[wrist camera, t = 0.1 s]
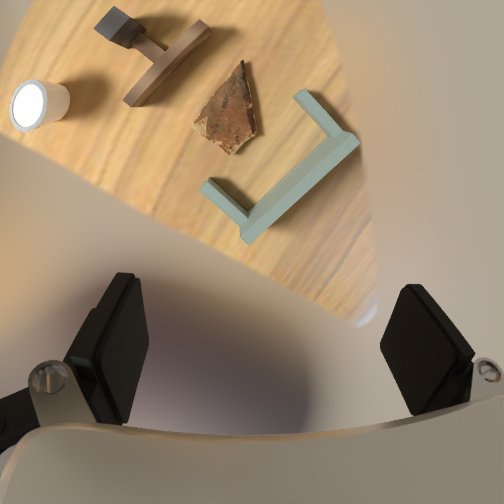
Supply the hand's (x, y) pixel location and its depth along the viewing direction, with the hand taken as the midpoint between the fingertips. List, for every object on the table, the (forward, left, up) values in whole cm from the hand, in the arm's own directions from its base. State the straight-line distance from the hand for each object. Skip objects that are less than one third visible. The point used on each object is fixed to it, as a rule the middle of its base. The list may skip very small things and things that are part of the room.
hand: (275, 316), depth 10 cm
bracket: (-2, +2, -31) cm, 31 cm away
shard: (-2, -7, -32) cm, 33 cm away
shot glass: (+12, -27, -31) cm, 43 cm away
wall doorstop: (-2, -20, -31) cm, 37 cm away
